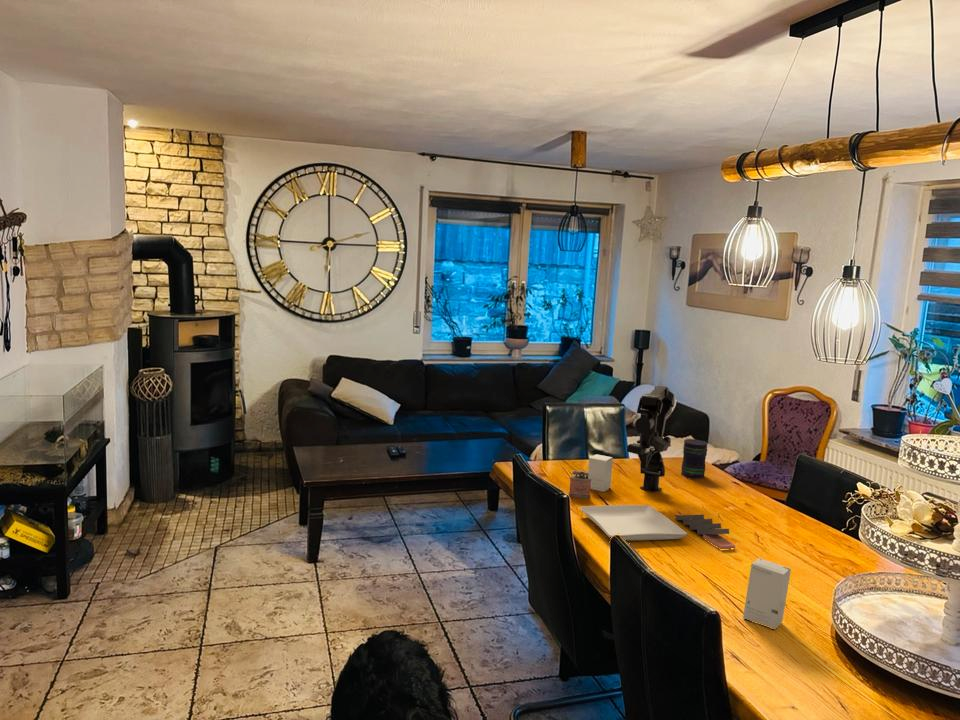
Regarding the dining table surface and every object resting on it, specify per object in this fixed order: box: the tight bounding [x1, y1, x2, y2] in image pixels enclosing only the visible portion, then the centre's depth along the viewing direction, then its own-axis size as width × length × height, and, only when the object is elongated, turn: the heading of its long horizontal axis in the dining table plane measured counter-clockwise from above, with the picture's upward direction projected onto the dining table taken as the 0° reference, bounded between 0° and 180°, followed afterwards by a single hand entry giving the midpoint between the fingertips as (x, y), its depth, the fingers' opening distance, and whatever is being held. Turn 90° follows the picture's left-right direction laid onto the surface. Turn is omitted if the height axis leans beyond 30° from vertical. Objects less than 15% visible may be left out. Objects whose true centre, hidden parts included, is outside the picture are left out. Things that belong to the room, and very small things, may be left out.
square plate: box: [579, 504, 688, 542], centre depth 236 cm, size 27×27×4 cm
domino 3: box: [688, 522, 722, 531], centre depth 234 cm, size 2×5×10 cm
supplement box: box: [587, 453, 614, 493], centre depth 278 cm, size 7×7×13 cm
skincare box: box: [742, 557, 792, 630], centre depth 175 cm, size 8×6×15 cm
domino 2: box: [682, 518, 714, 526], centre depth 238 cm, size 2×5×10 cm
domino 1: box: [675, 513, 705, 521], centre depth 243 cm, size 2×5×10 cm
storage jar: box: [680, 438, 708, 480], centre depth 303 cm, size 10×10×15 cm
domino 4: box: [696, 528, 730, 535], centre depth 230 cm, size 2×5×10 cm
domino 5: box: [702, 534, 736, 549], centre depth 226 cm, size 2×5×10 cm
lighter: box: [568, 470, 592, 499], centre depth 266 cm, size 8×3×10 cm, turn 84°
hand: (644, 468), depth 267 cm, fingers closed
